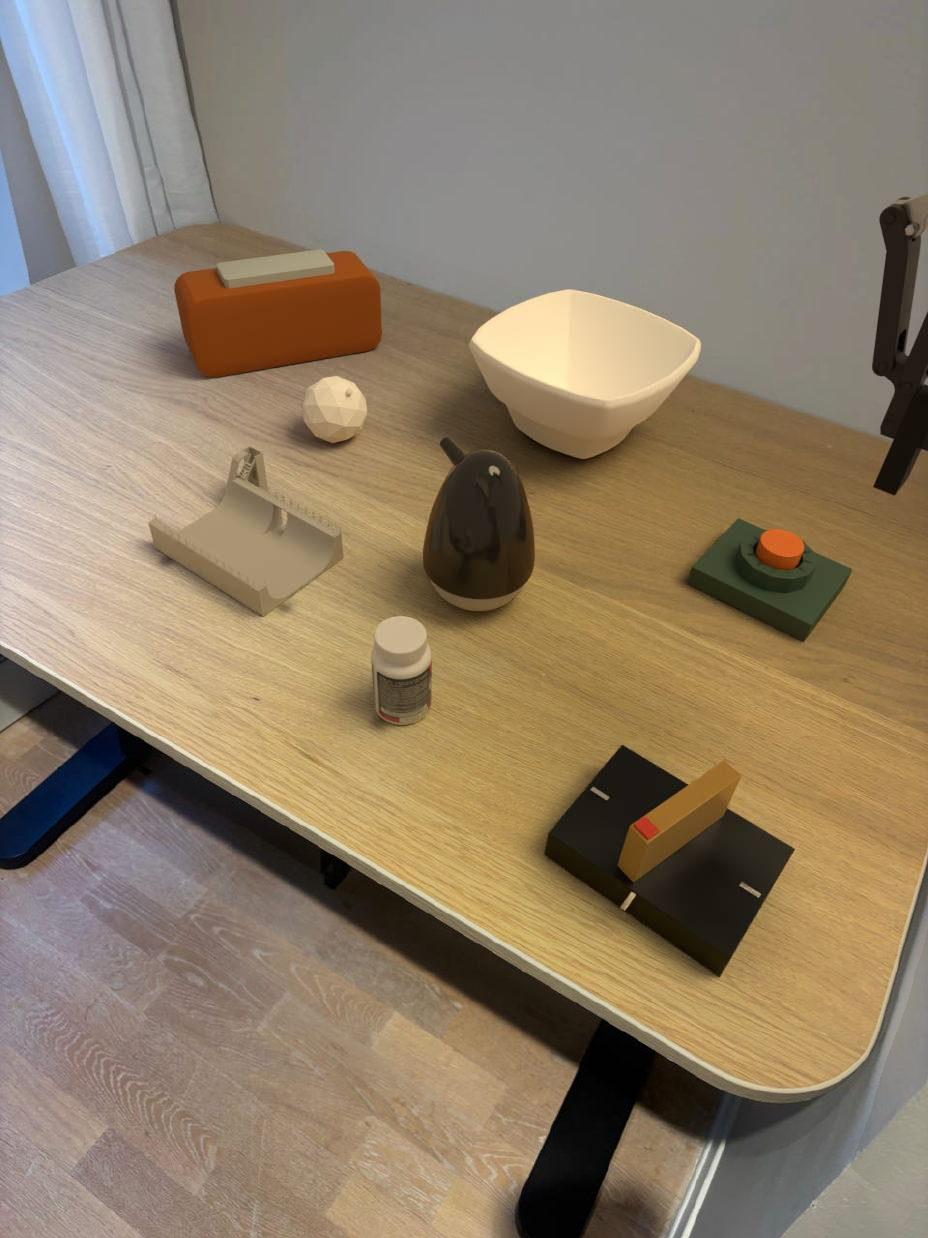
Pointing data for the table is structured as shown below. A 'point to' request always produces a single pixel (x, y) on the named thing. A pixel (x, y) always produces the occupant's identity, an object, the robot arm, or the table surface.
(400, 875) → the table surface
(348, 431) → the ornament
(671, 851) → the rectangular block
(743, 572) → the button block
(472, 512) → the pump dispenser
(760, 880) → the knob panel
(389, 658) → the pill bottle
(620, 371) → the bowl
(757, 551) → the button
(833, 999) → the table surface
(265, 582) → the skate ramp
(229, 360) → the alarm clock
